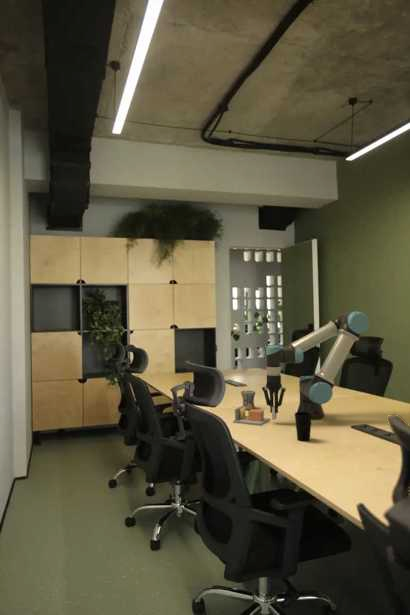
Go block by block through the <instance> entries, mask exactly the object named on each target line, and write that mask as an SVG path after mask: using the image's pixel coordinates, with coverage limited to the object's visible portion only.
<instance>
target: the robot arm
mask: <svg viewBox="0 0 410 615" xmlns="http://www.w3.org/2000/svg"><path fill="white" fill-rule="evenodd" d="M369 328H370V320H369V316H367V315H366V314H365V313H364V312H361V311H359V310H358V311H345V312H343V313H341V314H338V316H336V317H334V318H333V319H331V320H329V321H328V323H327V324H325V325H323V326H322V327H320V328H318V329H316V330H314V331H312V332H310V333H308V334H307V335H304V336H302V337H300V338H299V339H297V340H295V341H293V342H291V343H290V344H288V345H286V346H280V345H274V344H273V345H267V346H266V350H265V352H266V353H265V355H266V356H265V357H266V383H265V385H264V386H263V387H261V389H262V391H263V393H264V398H265V403H266V405H267V406H269V407H270V414H271V419H272V420H277V414H278V413H279V407H280V406H282V404H283V400H284V396H285V392H286V391H287V388H286V387H284V386H283V385H282V375H281V374H282V367H281V366H282V364H301V363H302V362H303V361H304V352H306V351H308V350H310V349H313V348H314V347H316V346H317V345H319V344H321V343H324V342H325V341H327V340H329V339H331V338H333V337H334V336H336V337H337V338H336V339H335V342H334V343H333V346H332V347H331V349H330V351H329V353H328V355H327V357H326V358H325V361H324V363H323V364H322V366H321V367H320V370H319V372H316V373H314V374H313V375H305V376H304V375H302V376H300V377H299V379H298V383H299V385H298V386H299V404H298V407H297V410H296V412H308V413H311V414H312V417H311V420H320V419H321V420H322V419H324V418H325V411H324V408H323V405H324V404H326V403H329V402H330V400H331V399H332V397H333V389H334V387H335V385H336V384H335V378H336V377H337V375H338V373H339V371H340V369H341V367H342V365H343V364H344V362H345V360H346V358H347V356H348V354H349V352H350V350H351V348H352V346H353V344H354V343H355V342H356V341H359V340H360V339H361V336H362V334H365V333H366V332H367V331H368V330H369ZM279 391H280V394H279ZM268 392H269V393H268Z"/></svg>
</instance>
